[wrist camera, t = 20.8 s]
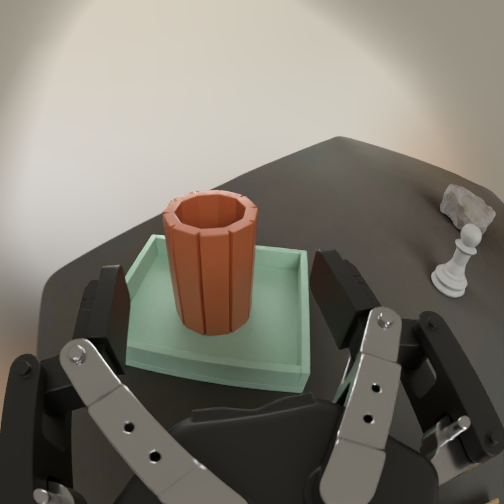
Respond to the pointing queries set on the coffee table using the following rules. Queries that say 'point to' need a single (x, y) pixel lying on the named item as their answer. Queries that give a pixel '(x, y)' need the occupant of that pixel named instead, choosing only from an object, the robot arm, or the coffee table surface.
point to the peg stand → (493, 501)
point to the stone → (466, 208)
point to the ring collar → (211, 259)
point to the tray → (233, 344)
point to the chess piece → (457, 264)
